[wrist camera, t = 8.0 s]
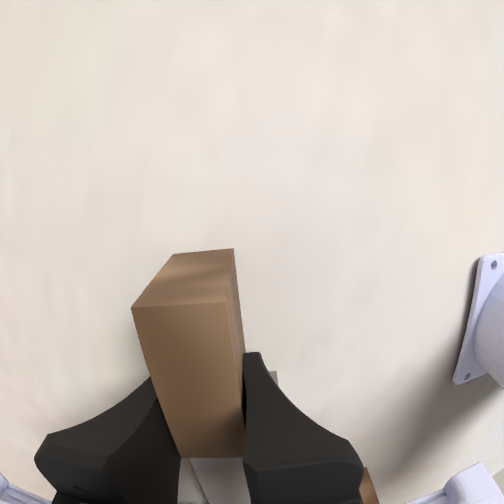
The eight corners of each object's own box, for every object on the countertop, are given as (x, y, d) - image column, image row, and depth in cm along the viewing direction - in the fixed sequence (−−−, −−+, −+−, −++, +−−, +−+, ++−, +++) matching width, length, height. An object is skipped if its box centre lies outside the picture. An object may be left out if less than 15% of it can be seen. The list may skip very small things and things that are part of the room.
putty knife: (267, 245, 12) (281, 296, 7) (283, 513, 18) (289, 561, 13) (143, 257, 12) (88, 308, 7) (222, 517, 18) (221, 564, 13)
